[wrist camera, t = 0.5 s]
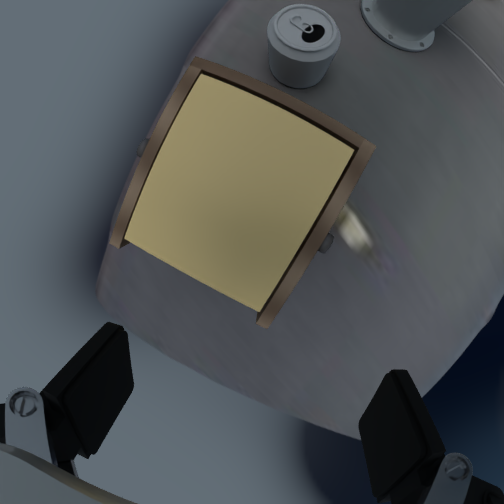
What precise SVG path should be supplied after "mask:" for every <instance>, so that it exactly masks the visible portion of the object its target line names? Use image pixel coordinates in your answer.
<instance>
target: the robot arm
mask: <svg viewBox="0 0 504 504" xmlns="http://www.w3.org/2000/svg"><path fill="white" fill-rule="evenodd" d="M471 1H472V0H362V1H361V12H362V16H363V18H364V20H365V22H366V23H367V24H368V26H369V27H370V28H371V29H372V30H373V32H374V33H375V34H377V35H378V36H379V37H380V38H381V39H383V40H384V41H386V42H387V43H389V44H390V45H392V46H394V47H396V48H399V49H401V50H405V51H409V52H420V51H423V50H426V49H427V48H428V47H430V46H431V45H432V43H433V41H434V38H435V31H434V29H436V28H437V27H438V26H440V25H441V24H442V23H443V22H445V21H446V20H447V19H448V18H450V17H451V16H452V15H454V14H455V13H456V12H458V11H459V10H460V9H462V8H463V7H464V6H466V5H467V4H468V3H470V2H471ZM133 388H134V382H133V374H132V367H131V360H130V352H129V342H128V334H127V332H126V331H124V328H123V326H120V325H117V324H114V323H111V322H107V323H106V324H105V325H104V326H103V327H102V328H101V329H100V330H99V331H98V332H97V333H96V334H95V335H94V336H93V337H92V338H91V339H90V340H89V341H88V342H87V343H86V344H85V345H84V346H83V347H82V348H81V349H80V350H79V351H78V352H77V353H76V354H75V356H73V357H72V358H71V360H70V361H69V362H68V363H67V364H66V365H65V366H64V367H63V368H62V369H61V370H60V371H59V372H58V373H57V375H56V376H55V377H54V378H53V379H52V380H51V381H50V382H49V383H48V384H47V386H46V387H45V388H44V389H43V390H42V391H41V392H40V393H38V392H37V391H36V390H34V389H32V388H28V387H22V388H18V389H15V390H13V391H12V392H11V393H10V394H9V395H8V397H7V398H6V403H4V404H0V504H137V503H134V502H131V501H129V500H126V499H123V498H121V497H118V496H116V495H114V494H112V493H109V492H107V491H105V490H102V489H100V488H98V487H96V486H94V485H91V484H89V483H87V482H85V481H83V480H81V479H79V477H78V474H77V470H76V467H75V463H74V458H75V457H76V455H77V454H79V455H81V456H83V457H85V458H87V459H89V457H90V455H91V454H93V455H94V454H95V453H96V452H97V451H98V449H99V447H100V446H101V444H102V442H103V440H104V439H105V437H106V435H107V434H108V432H109V430H110V428H111V427H112V425H113V423H114V422H115V420H116V418H117V416H118V415H119V413H120V411H121V410H122V408H123V406H124V405H125V403H126V401H127V400H128V398H129V396H130V395H131V393H132V391H133ZM359 432H360V436H361V440H362V444H363V449H364V454H365V458H366V463H367V468H368V473H369V477H370V483H371V488H372V493H373V495H374V497H377V502H378V503H382V502H387V501H391V503H392V504H504V494H503V492H502V491H501V489H500V488H498V487H497V486H494V485H492V484H490V483H488V482H485V481H483V480H481V479H479V478H477V477H474V476H472V472H473V468H472V464H471V462H470V461H469V459H468V458H467V457H466V456H464V455H462V454H459V453H451V454H448V455H447V456H446V457H445V455H444V452H445V451H446V449H445V447H444V445H443V442H442V440H441V438H440V436H439V433H438V431H437V429H436V427H435V425H434V423H433V420H432V418H431V416H430V414H429V412H428V410H427V408H426V406H425V404H424V402H423V400H422V398H421V396H420V394H419V392H418V390H417V388H416V386H415V384H414V382H413V380H412V378H411V377H410V375H409V373H408V371H407V370H395V369H393V370H391V371H390V372H389V373H387V374H386V375H385V376H384V378H383V380H382V382H381V384H380V386H379V388H378V389H377V391H376V393H375V395H374V397H373V398H372V400H371V402H370V404H369V405H368V407H367V409H366V410H365V412H364V414H363V415H362V417H361V418H360V420H359Z"/></svg>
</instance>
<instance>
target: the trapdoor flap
mask: <svg viewBox="0 0 504 504" xmlns="http://www.w3.org/2000/svg"><path fill="white" fill-rule="evenodd" d="M353 152H354V149H352V148H350V147H349V146H347V145H346V144H344V143H342V142H341V141H339V140H338V139H336V138H334V137H333V136H331V135H329V134H328V133H326V132H324V131H322V130H321V129H319V128H317V127H315V126H314V125H312V124H310V123H308V122H306V121H305V120H303V119H301V118H299V117H297V116H295V115H293V114H291V113H289V112H288V111H286V110H284V109H282V108H280V107H278V106H276V105H274V104H271V103H269V102H267V101H265V100H263V99H261V98H259V97H257V96H254V95H252V94H250V93H248V92H245V91H243V90H241V89H239V88H236V87H234V86H231V85H229V84H227V83H224V82H222V81H219V80H217V79H214V78H211V77H209V76H206V75H203V74H201V75H200V76H199V78H198V80H197V81H196V83H195V85H194V86H193V88H192V90H191V92H190V93H189V95H188V97H187V99H186V100H185V102H184V104H183V106H182V108H181V110H180V111H179V113H178V115H177V117H176V119H175V121H174V123H173V125H172V127H171V129H170V131H169V133H168V135H167V137H166V139H165V141H164V143H163V145H162V147H161V149H160V151H159V153H158V156H157V158H156V160H155V162H154V164H153V167H152V169H151V171H150V173H149V176H148V178H147V180H146V183H145V185H144V188H143V190H142V192H141V195H140V197H139V200H138V202H137V205H136V207H135V210H134V213H133V215H132V218H131V221H130V223H129V226H128V229H127V232H126V235H125V238H124V239H126V240H128V241H129V242H131V243H133V244H134V245H136V246H138V247H140V248H141V249H143V250H145V251H146V252H148V253H150V254H152V255H153V256H155V257H157V258H159V259H160V260H162V261H164V262H166V263H168V264H169V265H171V266H173V267H175V268H177V269H178V270H180V271H182V272H184V273H186V274H187V275H189V276H191V277H193V278H195V279H197V280H198V281H200V282H202V283H204V284H206V285H208V286H210V287H211V288H213V289H215V290H217V291H219V292H221V293H223V294H225V295H227V296H229V297H231V298H232V299H234V300H236V301H238V302H240V303H242V304H244V305H246V306H248V307H250V308H252V309H254V310H256V311H258V312H260V311H261V309H262V307H263V306H264V304H265V303H266V301H267V299H268V298H269V296H270V295H271V293H272V291H273V290H274V288H275V287H276V285H277V283H278V282H279V280H280V278H281V277H282V275H283V274H284V272H285V270H286V269H287V267H288V265H289V264H290V262H291V260H292V259H293V257H294V255H295V254H296V252H297V250H298V249H299V247H300V245H301V244H302V242H303V240H304V239H305V237H306V235H307V233H308V232H309V230H310V228H311V227H312V225H313V223H314V221H315V220H316V218H317V216H318V215H319V213H320V211H321V209H322V208H323V206H324V204H325V202H326V201H327V199H328V197H329V195H330V194H331V192H332V190H333V188H334V186H335V185H336V183H337V181H338V179H339V177H340V176H341V174H342V172H343V170H344V168H345V167H346V165H347V163H348V161H349V159H350V157H351V156H352V154H353Z"/></svg>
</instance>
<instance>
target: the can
mask: <svg viewBox="0 0 504 504" xmlns="http://www.w3.org/2000/svg"><path fill="white" fill-rule="evenodd" d="M267 36H268V50H269V64H270V70H271V72H272V74H273V76H274V77H275V78H276V79H277V80H278V81H279V82H281V83H283V84H285V85H286V86H290V87H293V88H307V87H311V86H314V85H315V84H317V83H318V82H320V81H321V79H322V78H323V76H324V75H325V73H326V71H327V69H328V67H329V65H330V63H331V61H332V59H333V57H334V56H335V54H336V52H337V50H338V48H339V45H340V40H341V36H340V31H339V29H338V27H337V25H336V23H335V21H334V20H333V18H332V17H331V16H330V15H329V14H328V13H327V12H325V11H324V10H322V9H320V8H318V7H316V6H312V5H308V4H294V5H290V6H287V7H285V8H283V9H281V10H280V11H279V12H278V13H276V14H275V15H274V16H273V17H272V18H271V20H270V21H269V24H268V27H267Z"/></svg>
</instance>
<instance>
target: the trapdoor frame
mask: <svg viewBox="0 0 504 504" xmlns="http://www.w3.org/2000/svg"><path fill="white" fill-rule="evenodd" d="M201 74H203V75H206V76H209V77H211V78H214V79H217V80H219V81H222V82H224V83H227V84H229V85H231V86H234V87H236V88H239V89H241V90H243V91H245V92H248V93H250V94H252V95H254V96H257V97H259V98H261V99H263V100H265V101H267V102H269V103H271V104H274V105H276V106H278V107H280V108H282V109H284V110H286V111H288V112H289V113H291V114H293V115H295V116H297V117H299V118H301V119H303V120H305V121H306V122H308V123H310V124H312V125H314V126H315V127H317V128H319V129H321V130H322V131H324V132H326V133H328V134H329V135H331V136H333V137H334V138H336V139H338V140H339V141H341V142H342V143H344V144H346V145H347V146H349V147H350V148H352V149H354V152H353V154H352V156H351V157H350V159H349V161H348V163H347V165H346V167H345V168H344V170H343V172H342V174H341V176H340V177H339V179H338V181H337V183H336V185H335V186H334V188H333V190H332V192H331V194H330V195H329V197H328V199H327V201H326V202H325V204H324V206H323V208H322V209H321V211H320V213H319V215H318V216H317V218H316V220H315V221H314V223H313V225H312V227H311V228H310V230H309V232H308V233H307V235H306V237H305V239H304V240H303V242H302V244H301V245H300V247H299V249H298V250H297V252H296V254H295V255H294V257H293V259H292V260H291V262H290V264H289V265H288V267H287V269H286V270H285V272H284V274H283V275H282V277H281V278H280V280H279V282H278V283H277V285H276V287H275V288H274V290H273V291H272V293H271V295H270V296H269V298H268V299H267V301H266V303H265V304H264V306H263V307H262V309H261V311H260V312H258V311H257V319H256V324H257V325H259V326H261V327H264V328H266V329H268V327H269V326H270V324H271V323H272V321H273V320H274V318H275V317H276V315H277V314H278V312H279V311H280V309H281V308H282V306H283V305H284V303H285V301H286V300H287V298H288V297H289V295H290V294H291V292H292V291H293V289H294V288H295V286H296V284H297V283H298V281H299V280H300V278H301V276H302V275H303V273H304V272H305V270H306V269H307V267H308V265H309V264H310V262H311V260H312V259H313V257H314V256H315V254H316V252H317V251H320V252H321V253H323V254H324V253H326V252H327V250H328V249H329V248H330V246H331V244H332V242H333V238H334V236H333V235H331V234H330V233H328V232H329V231H330V229H331V227H332V226H333V224H334V222H335V220H336V219H337V217H338V215H339V214H340V212H341V210H342V208H343V207H344V205H345V203H346V201H347V200H348V198H349V196H350V194H351V192H352V191H353V189H354V187H355V185H356V183H357V182H358V180H359V178H360V176H361V174H362V172H363V171H364V169H365V167H366V165H367V163H368V161H369V159H370V158H371V156H372V154H373V152H374V150H375V148H376V146H375V145H374V144H372V143H371V142H369V141H368V140H366V139H365V138H363V137H362V136H360V135H359V134H357V133H356V132H354V131H352V130H351V129H349V128H348V127H346V126H344V125H343V124H341V123H340V122H338V121H336V120H335V119H333V118H331V117H329V116H328V115H326V114H324V113H322V112H321V111H319V110H317V109H315V108H313V107H312V106H310V105H308V104H306V103H304V102H302V101H300V100H298V99H297V98H295V97H293V96H291V95H289V94H287V93H285V92H282V91H280V90H278V89H276V88H274V87H272V86H270V85H268V84H265V83H263V82H261V81H259V80H256V79H254V78H252V77H249V76H247V75H245V74H242V73H240V72H237V71H235V70H232V69H230V68H227V67H225V66H222V65H219V64H216V63H214V62H211V61H208V60H205V59H202V58H199V57H196V56H195V58H194V59H193V61H192V62H191V64H190V66H189V67H188V69H187V71H186V72H185V74H184V76H183V77H182V79H181V81H180V82H179V84H178V86H177V88H176V89H175V91H174V93H173V95H172V97H171V98H170V100H169V102H168V104H167V106H166V108H165V110H164V112H163V113H162V115H161V117H160V119H159V121H158V123H157V125H156V127H155V129H154V131H153V133H152V136H151V138H150V140H149V139H144V140H143V141H142V142H141V143H140V145H139V147H138V149H137V156H139V157H141V160H140V162H139V164H138V167H137V169H136V171H135V174H134V176H133V179H132V181H131V184H130V186H129V189H128V191H127V194H126V196H125V199H124V202H123V204H122V207H121V210H120V213H119V216H118V218H117V221H116V224H115V227H114V230H113V233H112V236H111V240H110V244H112V245H114V246H115V247H117V248H118V249H119V248H121V247H123V246H125V245H127V244H129V243H130V242H129V241H128V240H126V239H124V238H125V235H126V232H127V229H128V226H129V223H130V221H131V218H132V215H133V213H134V210H135V207H136V205H137V202H138V200H139V197H140V195H141V192H142V190H143V188H144V185H145V183H146V180H147V178H148V176H149V173H150V171H151V169H152V167H153V164H154V162H155V160H156V158H157V156H158V153H159V151H160V149H161V147H162V145H163V143H164V141H165V139H166V137H167V135H168V133H169V131H170V129H171V127H172V125H173V123H174V121H175V119H176V117H177V115H178V113H179V111H180V110H181V108H182V106H183V104H184V102H185V100H186V99H187V97H188V95H189V93H190V92H191V90H192V88H193V86H194V85H195V83H196V81H197V80H198V78H199V76H200V75H201Z"/></svg>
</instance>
